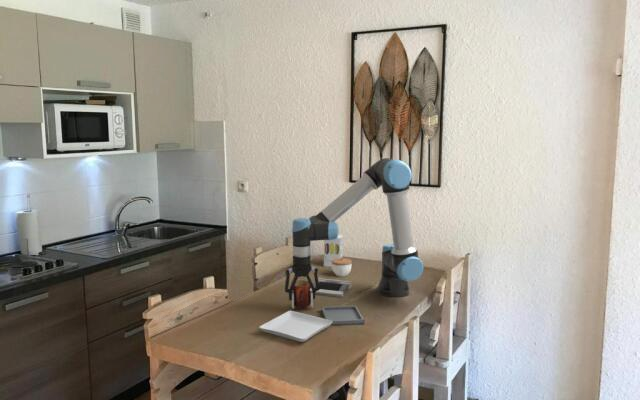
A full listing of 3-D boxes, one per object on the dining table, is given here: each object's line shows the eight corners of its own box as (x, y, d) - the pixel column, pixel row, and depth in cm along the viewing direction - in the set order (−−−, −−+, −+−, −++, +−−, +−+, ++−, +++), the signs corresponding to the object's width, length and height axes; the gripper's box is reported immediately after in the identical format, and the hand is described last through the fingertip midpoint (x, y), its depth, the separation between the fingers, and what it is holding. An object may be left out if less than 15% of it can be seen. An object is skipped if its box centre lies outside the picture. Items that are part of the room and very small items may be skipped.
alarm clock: (351, 281, 266) (341, 288, 251) (350, 291, 267) (341, 298, 251) (317, 278, 272) (306, 284, 256) (317, 287, 272) (306, 294, 257)
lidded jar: (327, 273, 290) (328, 256, 289) (345, 271, 295) (346, 254, 293) (336, 278, 281) (337, 261, 279) (355, 276, 285) (355, 259, 284)
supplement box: (323, 266, 303) (323, 236, 301) (325, 262, 312) (326, 233, 310) (340, 267, 302) (340, 237, 299) (342, 263, 311) (342, 234, 308)
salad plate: (304, 347, 198) (304, 338, 197) (257, 334, 209) (257, 326, 208) (333, 328, 215) (334, 320, 215) (289, 317, 226) (289, 309, 226)
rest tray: (355, 309, 236) (356, 305, 236) (364, 324, 219) (364, 319, 219) (321, 310, 234) (321, 306, 234) (327, 325, 217) (327, 321, 217)
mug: (294, 302, 242) (294, 279, 240) (313, 303, 240) (313, 280, 239) (287, 311, 230) (287, 288, 229) (307, 312, 228) (307, 289, 227)
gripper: (324, 251, 237) (324, 302, 240) (277, 253, 234) (278, 305, 238) (326, 256, 229) (326, 308, 233) (278, 258, 227) (279, 311, 230)
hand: (302, 306), depth 235 cm, fingers closed on mug, 7 cm apart
